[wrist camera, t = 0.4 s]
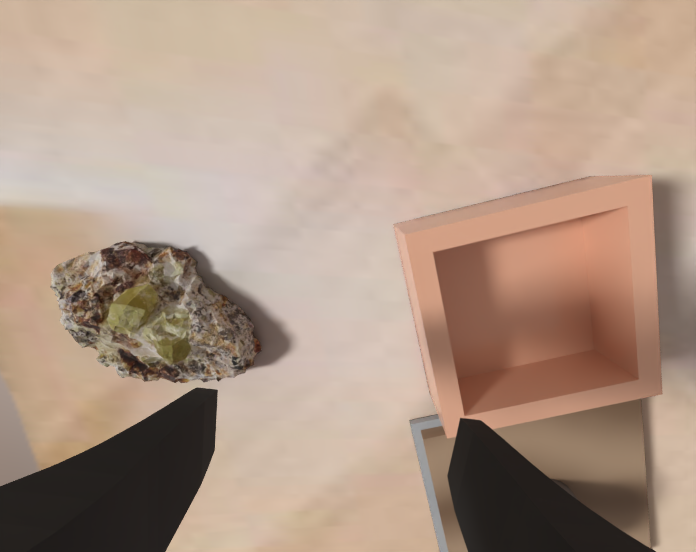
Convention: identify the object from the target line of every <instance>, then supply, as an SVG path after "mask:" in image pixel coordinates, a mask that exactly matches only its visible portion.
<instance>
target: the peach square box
mask: <svg viewBox="0 0 696 552" xmlns="http://www.w3.org/2000/svg"><path fill="white" fill-rule="evenodd" d="M393 225H394V229H395V234H396V239H397V243H398V248H399V253H400V257H401V262H402V267H403V271H404V276H405V281H406V285H407V290H408V295H409V299H410V304H411V308H412V313H413V318H414V322H415V327H416V332H417V336H418V341H419V346H420V350H421V355H422V360H423V364H424V369H425V374H426V378H427V383H428V388H429V392H430V395H431V398H432V400H433V403H434V406H435V408H436V411H437V413H438V416H439V419H440V421H441V424H442V426H443V429H444V432H445V434H446V437H447V439H448V438H453V437H456V435H457V430H458V426H459V421H460V418H467V419H475V420H481V421H482V422H484V423H485V424H486V425H488V426H489V427H490V428H491V429H496V428H501V427H506V426H511V425H516V424H521V423H525V422H530V421H535V420H540V419H545V418H549V417H554V416H559V415H564V414H569V413H574V412H578V411H583V410H588V409H593V408H598V407H603V406H607V405H612V404H617V403H622V402H627V401H631V400H636V399H641V398H646V397H651V396H656V395H660V394H662V378H661V358H660V337H659V317H658V296H657V276H656V255H655V234H654V214H653V193H652V175H634V176H594V177H585V178H581V179H577V180H573V181H569V182H565V183H561V184H557V185H553V186H548V187H544V188H540V189H536V190H532V191H528V192H524V193H520V194H516V195H512V196H507V197H503V198H499V199H495V200H491V201H487V202H483V203H479V204H475V205H471V206H466V207H462V208H458V209H454V210H450V211H446V212H442V213H438V214H434V215H430V216H425V217H421V218H417V219H413V220H409V221H405V222H401V223H397V224H393Z"/></svg>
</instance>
